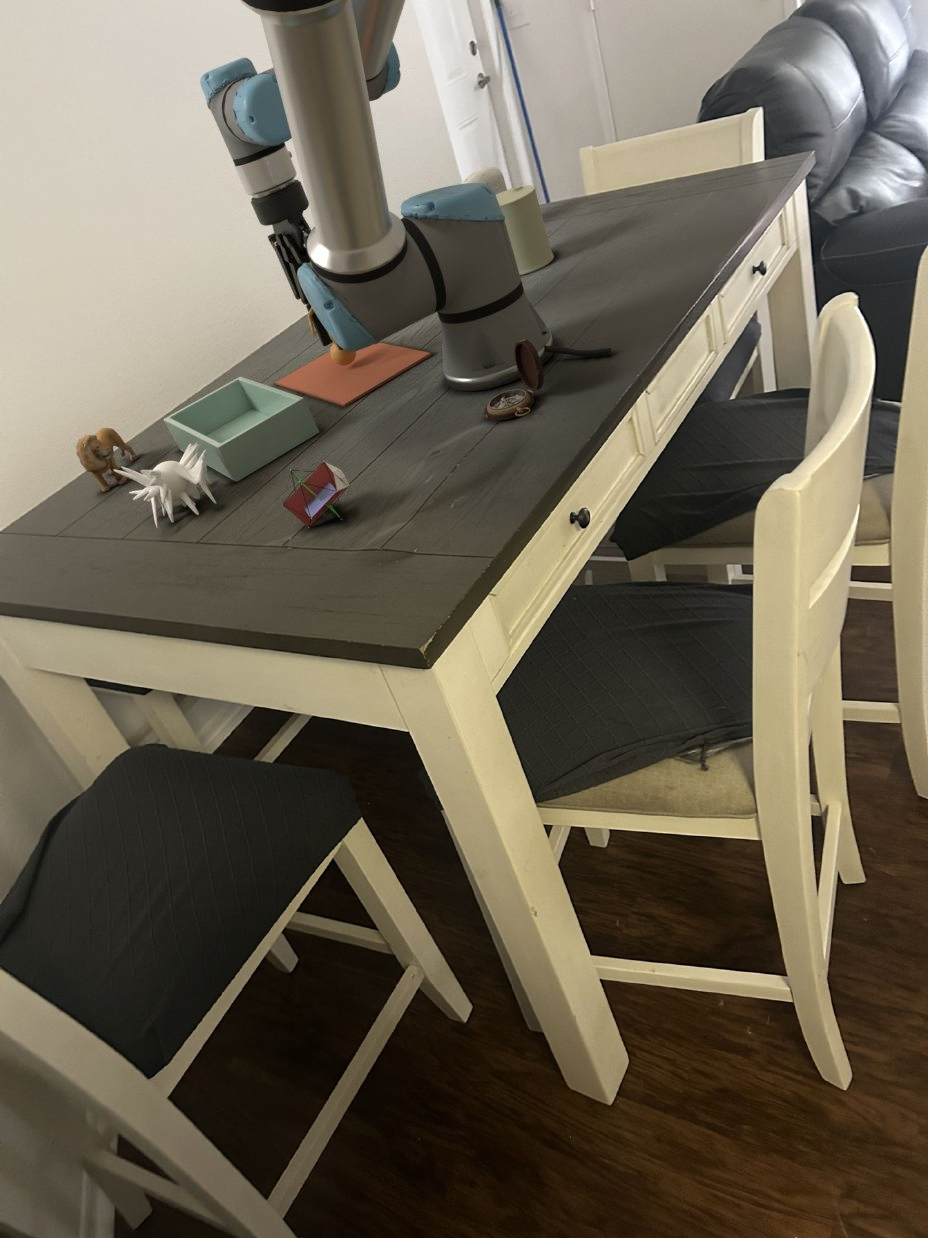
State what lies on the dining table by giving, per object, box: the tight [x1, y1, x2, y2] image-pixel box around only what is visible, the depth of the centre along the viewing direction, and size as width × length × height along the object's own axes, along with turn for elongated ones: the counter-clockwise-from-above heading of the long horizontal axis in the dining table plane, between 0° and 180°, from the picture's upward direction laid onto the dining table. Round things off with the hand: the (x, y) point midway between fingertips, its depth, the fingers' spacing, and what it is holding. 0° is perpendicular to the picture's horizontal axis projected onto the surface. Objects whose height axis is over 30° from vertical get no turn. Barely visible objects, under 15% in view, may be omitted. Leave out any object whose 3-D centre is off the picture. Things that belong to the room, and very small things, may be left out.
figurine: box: [307, 307, 356, 365], centre depth 140 cm, size 8×6×12 cm
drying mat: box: [275, 342, 432, 408], centre depth 144 cm, size 24×16×1 cm, turn 36°
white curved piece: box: [460, 166, 508, 194], centre depth 174 cm, size 10×4×12 cm, turn 134°
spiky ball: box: [114, 443, 218, 529], centre depth 118 cm, size 11×12×8 cm
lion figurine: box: [75, 427, 138, 493], centre depth 137 cm, size 15×5×9 cm, turn 13°
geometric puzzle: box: [281, 460, 351, 529], centre depth 104 cm, size 7×7×8 cm
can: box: [496, 184, 555, 276], centre depth 154 cm, size 9×9×12 cm
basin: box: [163, 376, 320, 483], centre depth 133 cm, size 23×14×5 cm, turn 36°
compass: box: [484, 339, 545, 421], centre depth 110 cm, size 8×8×7 cm
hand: (339, 343), depth 142 cm, fingers open, 5 cm apart
